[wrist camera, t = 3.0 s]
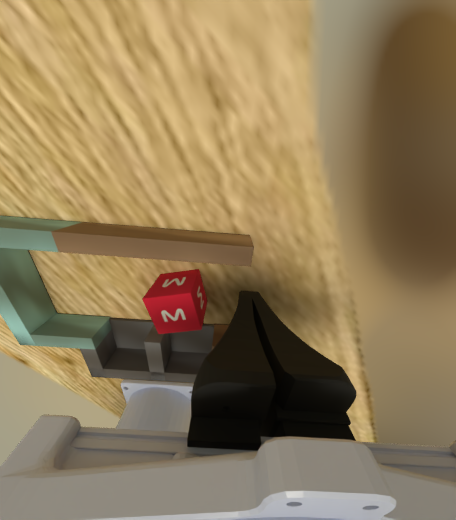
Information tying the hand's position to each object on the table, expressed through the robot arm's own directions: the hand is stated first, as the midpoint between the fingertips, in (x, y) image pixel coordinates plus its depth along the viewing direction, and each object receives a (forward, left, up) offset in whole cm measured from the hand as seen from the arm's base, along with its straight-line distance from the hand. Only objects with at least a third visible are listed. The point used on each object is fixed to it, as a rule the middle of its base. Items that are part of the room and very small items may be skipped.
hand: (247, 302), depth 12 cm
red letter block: (0, +5, -1) cm, 5 cm away
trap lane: (-2, +9, -1) cm, 9 cm away
